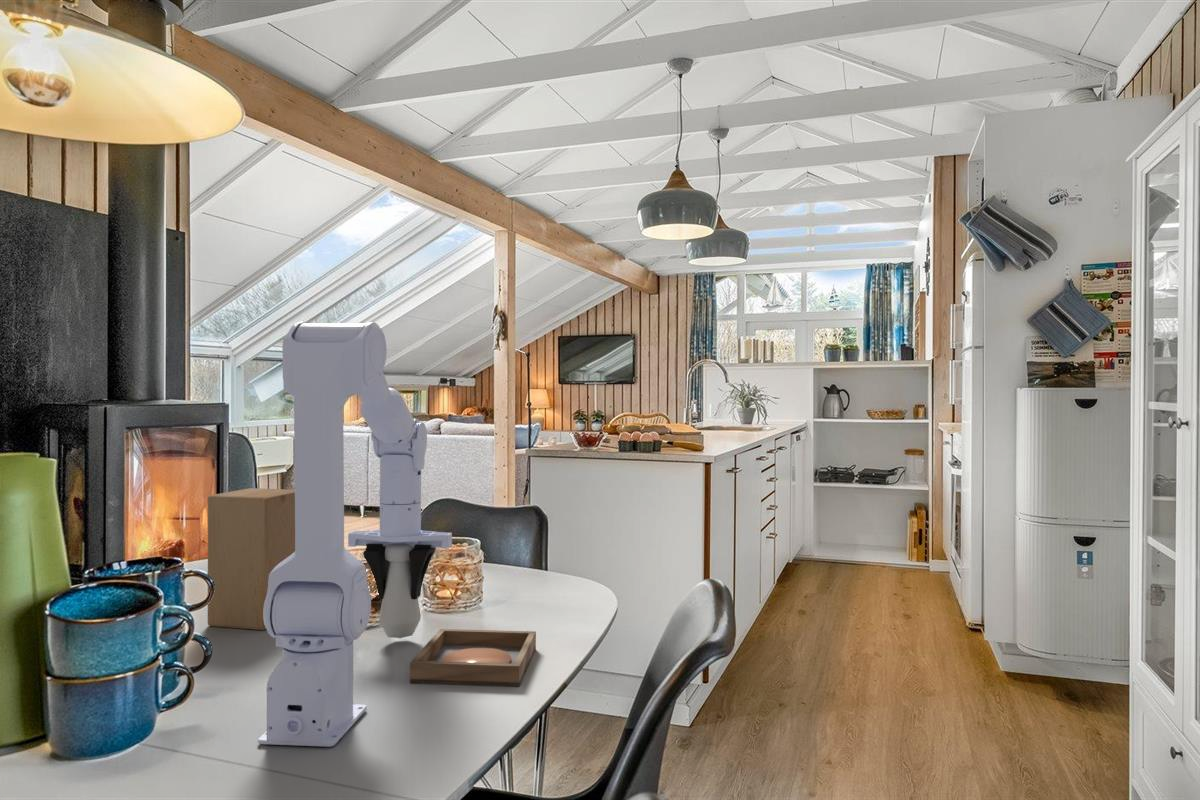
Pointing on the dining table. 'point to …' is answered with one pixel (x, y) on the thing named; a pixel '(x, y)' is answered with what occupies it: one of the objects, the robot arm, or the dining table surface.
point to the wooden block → (246, 551)
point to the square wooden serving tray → (446, 641)
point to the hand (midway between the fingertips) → (399, 597)
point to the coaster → (478, 656)
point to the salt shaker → (399, 594)
